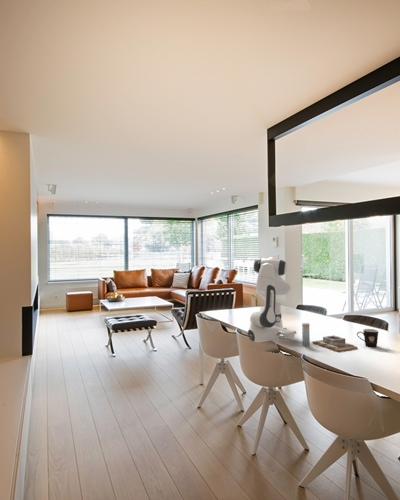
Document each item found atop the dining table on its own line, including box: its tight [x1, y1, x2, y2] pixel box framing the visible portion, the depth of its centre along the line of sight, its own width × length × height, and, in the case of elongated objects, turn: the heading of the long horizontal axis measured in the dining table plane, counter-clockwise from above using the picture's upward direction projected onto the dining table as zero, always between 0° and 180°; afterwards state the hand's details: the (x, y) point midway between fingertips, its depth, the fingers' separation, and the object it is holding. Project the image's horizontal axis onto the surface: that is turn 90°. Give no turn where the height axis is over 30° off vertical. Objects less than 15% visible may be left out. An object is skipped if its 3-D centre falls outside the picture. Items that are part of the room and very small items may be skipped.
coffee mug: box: [356, 328, 379, 349], centre depth 216 cm, size 12×9×10 cm
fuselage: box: [301, 322, 311, 347], centre depth 218 cm, size 4×4×14 cm
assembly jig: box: [311, 335, 358, 353], centre depth 216 cm, size 22×16×5 cm
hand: (290, 330), depth 213 cm, fingers open, 8 cm apart
